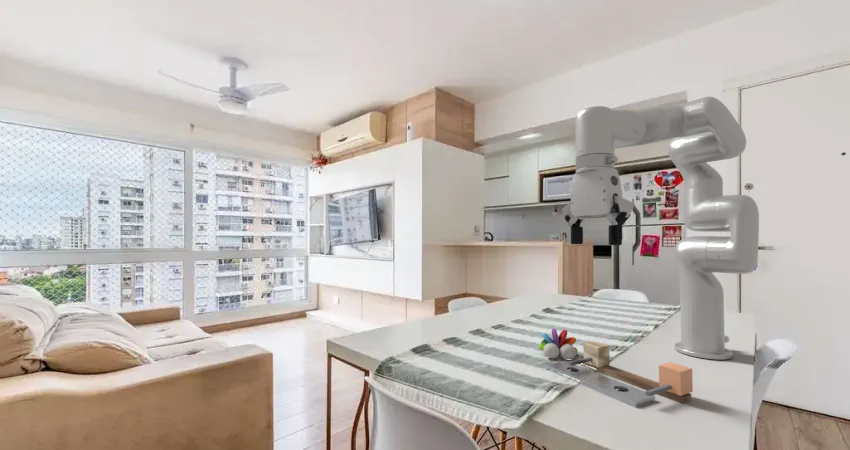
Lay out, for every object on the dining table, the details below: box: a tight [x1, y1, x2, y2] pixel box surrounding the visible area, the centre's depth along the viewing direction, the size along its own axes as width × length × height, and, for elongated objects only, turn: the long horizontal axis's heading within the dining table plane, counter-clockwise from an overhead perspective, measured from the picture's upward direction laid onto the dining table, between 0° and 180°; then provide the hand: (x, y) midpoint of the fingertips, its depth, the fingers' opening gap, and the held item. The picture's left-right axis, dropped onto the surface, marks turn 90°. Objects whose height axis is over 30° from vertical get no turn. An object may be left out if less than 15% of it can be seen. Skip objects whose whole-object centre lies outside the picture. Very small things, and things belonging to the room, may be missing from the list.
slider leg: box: [645, 361, 694, 396], centre depth 71 cm, size 11×4×4 cm, turn 117°
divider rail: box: [567, 340, 692, 404], centre depth 80 cm, size 11×24×6 cm, turn 27°
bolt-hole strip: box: [546, 360, 656, 408], centre depth 80 cm, size 6×22×1 cm, turn 27°
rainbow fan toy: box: [538, 328, 578, 360], centre depth 98 cm, size 8×10×7 cm
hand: (595, 244), depth 80 cm, fingers open, 9 cm apart
